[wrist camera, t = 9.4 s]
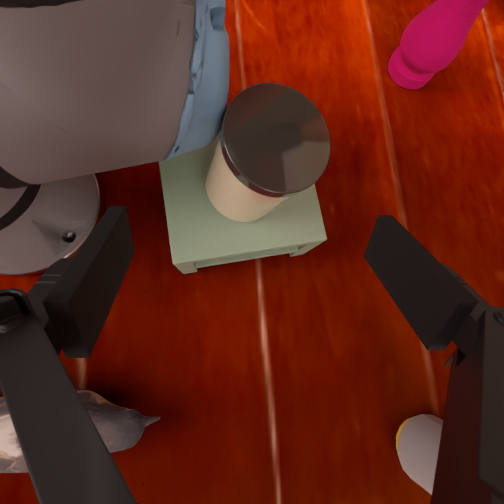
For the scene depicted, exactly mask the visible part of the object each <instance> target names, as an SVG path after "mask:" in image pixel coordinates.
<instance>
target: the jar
mask: <svg viewBox="0 0 504 504" xmlns="http://www.w3.org/2000/svg"><path fill="white" fill-rule="evenodd" d="M330 145H331V144H330V136H329V131H328V128H327V125H326V123H325V120H324V118H323V116H322V115H321V113H320V112H319V110H318V109H317V108H316V106H315V105H314V104H313V103H312V102H311V101H310V100H309V99H308V98H307V97H306V96H304V95H303V94H302V93H300V92H299V91H297V90H295V89H293V88H291V87H288V86H286V85H282V84H277V83H260V84H256V85H252V86H250V87H248V88H246V89H244V90H243V91H241V92H240V93H238V94H237V95H236V96H235V97H234V98H233V100H232V101H231V102H230V104H229V106H228V107H227V109H226V112H225V115H224V118H223V121H222V124H221V129H220V134H219V137H218V140H217V143H216V146H215V149H214V152H213V154H212V157H211V160H210V163H209V166H208V169H207V172H206V176H205V187H206V192H207V195H208V198H209V200H210V202H211V203H212V205H213V206H214V207H215V208H216V210H218V211H219V212H220V213H221V214H222V215H224V216H225V217H227V218H229V219H232V220H234V221H238V222H252V221H256V220H259V219H261V218H263V217H264V216H266V215H267V214H269V213H270V212H271V211H273V210H274V209H276V208H277V207H279V206H280V205H282V204H283V203H284V202H286V201H287V200H289V199H290V198H292V197H293V196H294V195H297V194H299V193H301V192H303V191H304V190H306V189H307V188H309V187H310V186H312V185H313V184H314V183H315V182H316V181H317V180H318V179H319V178H320V177H321V176H322V174H323V172H324V171H325V169H326V167H327V164H328V161H329V157H330Z"/></svg>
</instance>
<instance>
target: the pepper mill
mask: <svg viewBox="0 0 504 504" xmlns="http://www.w3.org/2000/svg"><path fill="white" fill-rule="evenodd" d="M489 1H490V0H436V1H435V2H434V3H432V4H431V5H430V6H428V7H427V8H425V9H424V10H423V11H421V12H420V13H419V14H418V15H417V16H416V17H415V18H414V19H413V20H412V21H411V22H410V23H409V25H408V26H407V27H406V29H405V30H404V32H403V34H402V37H401V41H400V45H399V46H398V47H397V48H396V50H395V51H394V53H393V54H392V56H391V57H390V59H389V61H388V72H389V75H390V76H391V78H392V80H393V81H394V82H395V83H396V84H398V85H399V86H401V87H403V88H406V89H418V88H421V87H423V86H424V85H425V84H426V83H427V82H428V81H429V80H430V79H431V78H432V77H433V76H434V74H435V72H437V71H440V70H442V69H444V68H445V67H447V66H448V65H449V64H450V63H451V62H452V61H453V60H454V58H455V57H456V56H457V55H458V53H459V52H460V50H461V48H462V46H463V45H464V42H465V40H466V37H467V35H468V32H469V30H470V28H471V26H472V24H473V22H474V20H475V19H476V17H477V15H478V14H479V13H480V11H481V10H482V9H483V8H484V6H485V5H486V4H487V3H488V2H489Z"/></svg>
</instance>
